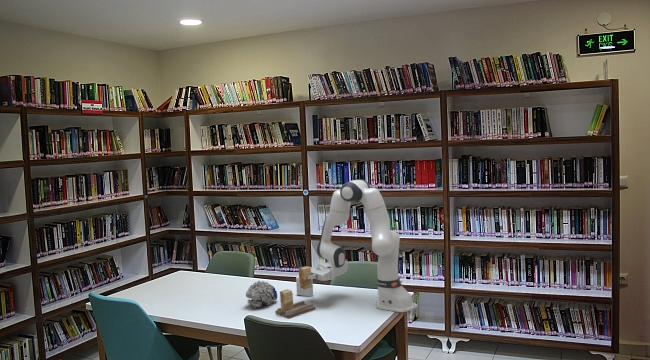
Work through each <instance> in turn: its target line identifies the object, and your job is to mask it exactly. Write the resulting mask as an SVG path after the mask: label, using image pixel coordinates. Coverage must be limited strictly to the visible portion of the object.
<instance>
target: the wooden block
mask: <svg viewBox="0 0 650 360" xmlns="http://www.w3.org/2000/svg"><path fill="white" fill-rule="evenodd" d="M311 267H312V266H307V265H305V266H301V267H298V275H299V282H300V288H303V289H307V288H310V287H312V279H306V278H307V277H306V276H308V275H311Z"/></svg>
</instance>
